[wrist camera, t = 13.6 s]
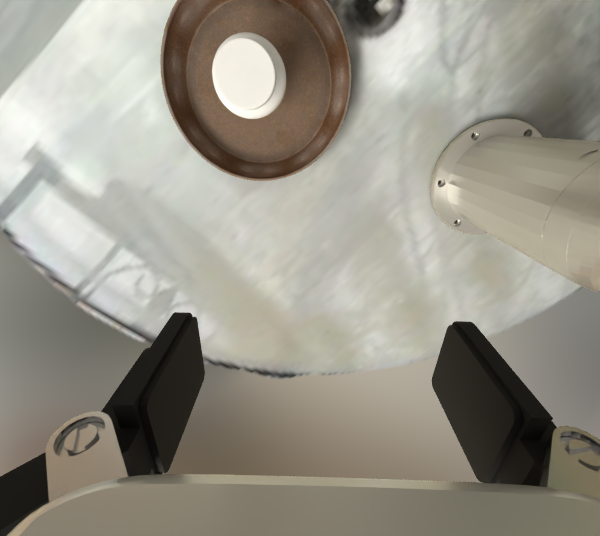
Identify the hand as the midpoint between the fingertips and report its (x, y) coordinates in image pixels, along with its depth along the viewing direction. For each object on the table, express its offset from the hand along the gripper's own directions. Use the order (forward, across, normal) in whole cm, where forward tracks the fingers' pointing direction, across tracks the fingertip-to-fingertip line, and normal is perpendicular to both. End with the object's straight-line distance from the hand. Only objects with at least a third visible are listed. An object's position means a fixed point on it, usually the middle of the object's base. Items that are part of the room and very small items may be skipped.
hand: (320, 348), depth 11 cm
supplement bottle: (+24, +5, -11) cm, 27 cm away
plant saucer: (+27, +6, -11) cm, 30 cm away
